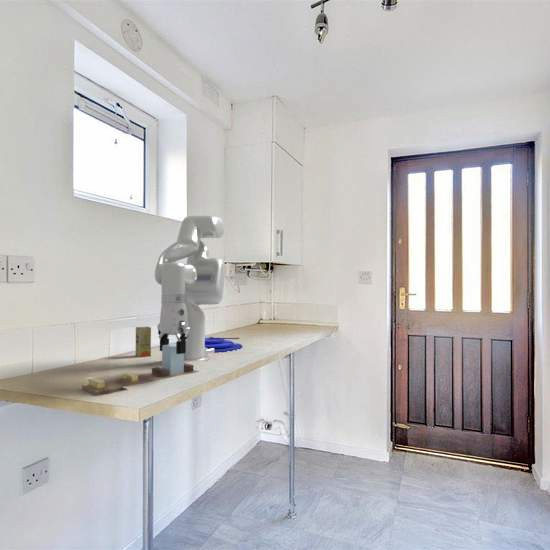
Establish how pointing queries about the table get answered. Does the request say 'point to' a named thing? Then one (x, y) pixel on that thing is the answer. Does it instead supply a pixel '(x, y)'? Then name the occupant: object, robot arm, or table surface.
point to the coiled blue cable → (221, 344)
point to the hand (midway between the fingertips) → (172, 352)
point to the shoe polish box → (143, 341)
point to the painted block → (172, 360)
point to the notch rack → (130, 380)
